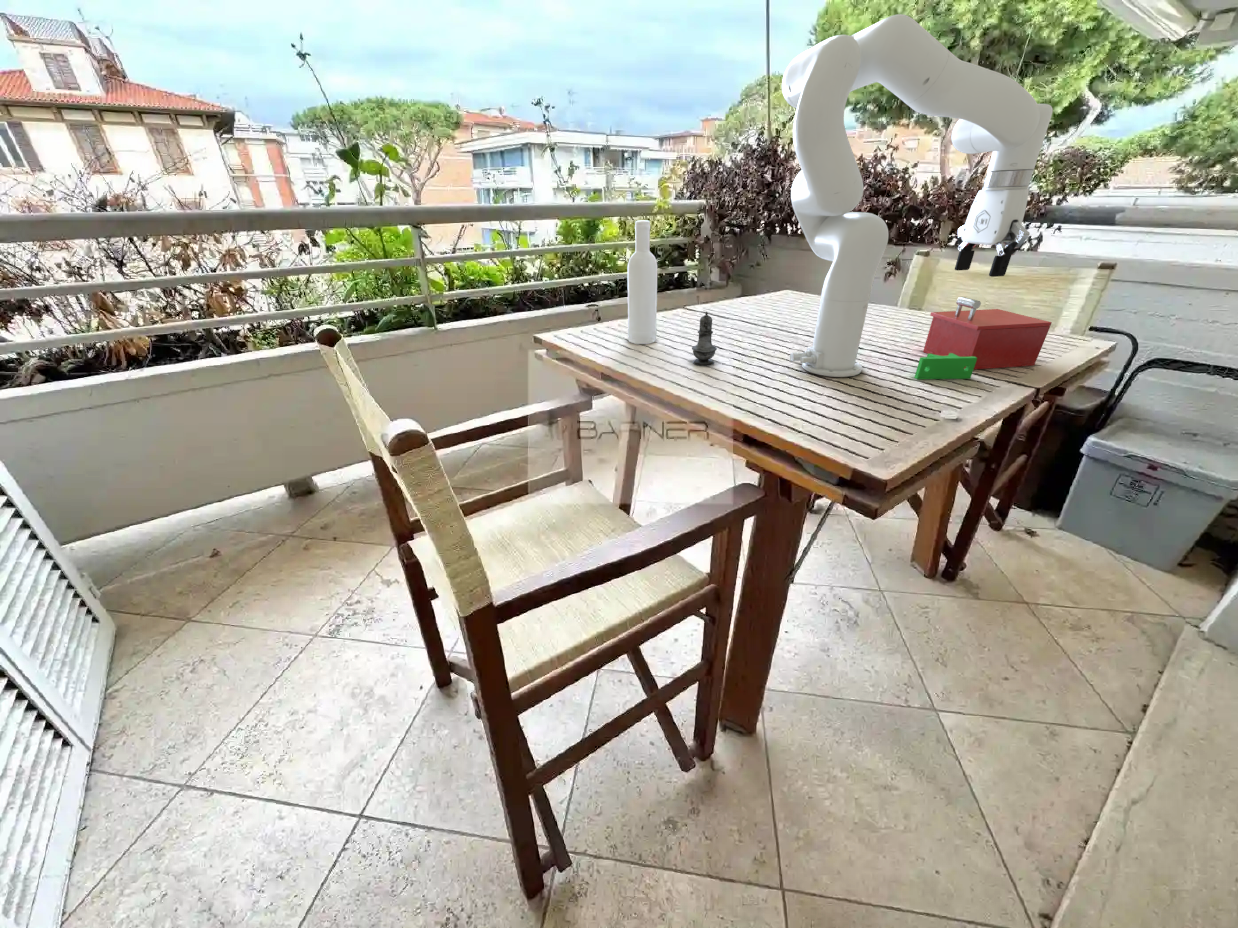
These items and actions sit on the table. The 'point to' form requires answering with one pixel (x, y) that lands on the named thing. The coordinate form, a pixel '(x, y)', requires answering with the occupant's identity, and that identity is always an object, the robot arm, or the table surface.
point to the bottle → (642, 288)
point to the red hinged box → (986, 344)
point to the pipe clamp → (945, 367)
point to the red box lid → (987, 317)
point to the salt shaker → (704, 343)
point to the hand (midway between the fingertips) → (978, 273)
